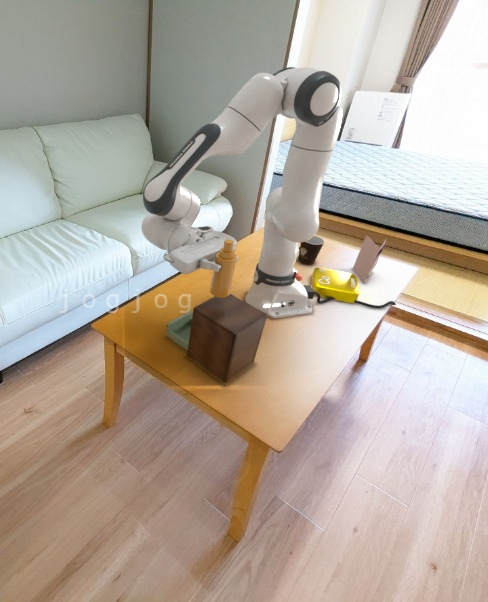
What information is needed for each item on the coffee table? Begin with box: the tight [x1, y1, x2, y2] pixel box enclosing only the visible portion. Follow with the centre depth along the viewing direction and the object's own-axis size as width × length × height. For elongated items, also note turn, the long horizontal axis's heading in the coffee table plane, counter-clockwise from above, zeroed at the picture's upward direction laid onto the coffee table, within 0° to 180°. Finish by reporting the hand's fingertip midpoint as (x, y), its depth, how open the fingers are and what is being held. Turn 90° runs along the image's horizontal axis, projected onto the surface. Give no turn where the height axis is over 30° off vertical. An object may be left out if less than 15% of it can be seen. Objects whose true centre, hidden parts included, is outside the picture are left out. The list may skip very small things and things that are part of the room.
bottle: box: [209, 239, 238, 298], centre depth 94 cm, size 5×5×15 cm
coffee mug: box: [297, 235, 325, 266], centre depth 155 cm, size 12×9×10 cm
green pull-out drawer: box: [165, 310, 193, 352], centre depth 113 cm, size 16×10×6 cm, turn 39°
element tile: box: [310, 266, 360, 304], centre depth 138 cm, size 15×15×5 cm
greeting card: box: [352, 235, 387, 284], centre depth 143 cm, size 11×7×15 cm, turn 139°
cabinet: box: [186, 292, 268, 387], centre depth 103 cm, size 14×13×18 cm
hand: (228, 264), depth 92 cm, fingers closed on bottle, 5 cm apart
